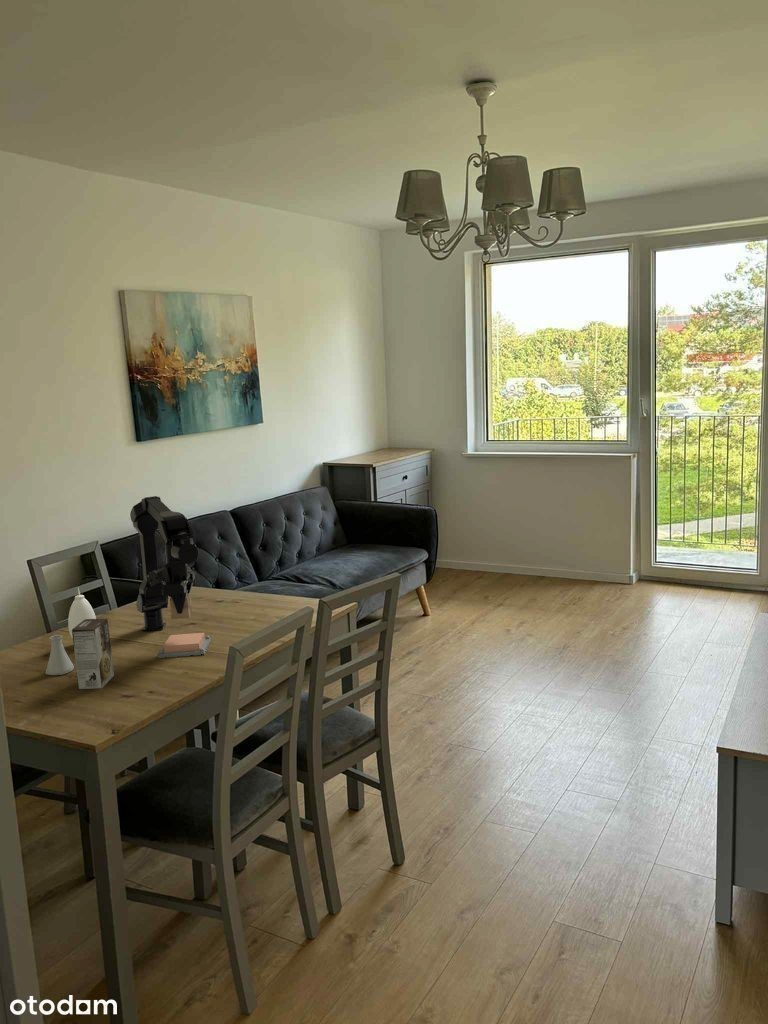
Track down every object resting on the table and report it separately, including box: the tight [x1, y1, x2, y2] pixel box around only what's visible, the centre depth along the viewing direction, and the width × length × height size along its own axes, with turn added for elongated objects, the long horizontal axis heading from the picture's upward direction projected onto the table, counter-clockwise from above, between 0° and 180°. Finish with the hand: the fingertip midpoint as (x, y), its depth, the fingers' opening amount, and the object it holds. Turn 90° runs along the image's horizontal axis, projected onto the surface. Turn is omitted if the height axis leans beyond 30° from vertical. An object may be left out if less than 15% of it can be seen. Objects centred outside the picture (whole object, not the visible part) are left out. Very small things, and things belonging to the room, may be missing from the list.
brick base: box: [157, 632, 212, 659], centre depth 238 cm, size 13×13×3 cm
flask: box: [45, 634, 75, 676], centre depth 224 cm, size 7×7×10 cm
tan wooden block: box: [169, 592, 193, 620], centre depth 236 cm, size 5×5×6 cm
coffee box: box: [72, 618, 115, 690], centre depth 213 cm, size 9×6×16 cm
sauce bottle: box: [67, 587, 97, 640], centre depth 246 cm, size 8×8×18 cm
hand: (181, 610), depth 236 cm, fingers closed on tan wooden block, 5 cm apart
